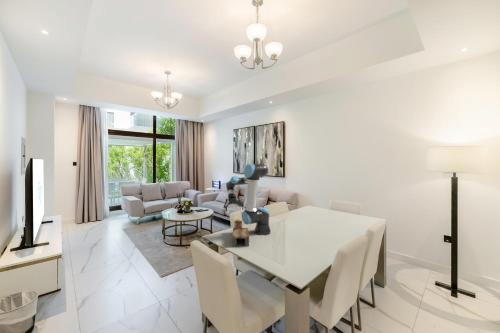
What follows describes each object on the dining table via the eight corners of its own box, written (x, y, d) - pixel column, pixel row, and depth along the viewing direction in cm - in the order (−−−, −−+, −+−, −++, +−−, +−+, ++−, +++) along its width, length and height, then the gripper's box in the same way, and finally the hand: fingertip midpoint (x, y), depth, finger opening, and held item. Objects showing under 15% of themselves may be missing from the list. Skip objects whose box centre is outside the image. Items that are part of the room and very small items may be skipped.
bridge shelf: (247, 236, 192) (247, 227, 192) (248, 246, 173) (249, 236, 172) (232, 236, 192) (233, 227, 191) (232, 246, 172) (232, 236, 171)
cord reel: (241, 232, 204) (241, 219, 204) (241, 234, 197) (242, 221, 197) (234, 232, 204) (234, 219, 203) (234, 234, 197) (234, 221, 196)
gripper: (242, 196, 230) (246, 214, 217) (219, 197, 222) (221, 216, 209) (244, 192, 225) (248, 210, 211) (220, 193, 217) (222, 212, 203)
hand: (235, 213), depth 210 cm, fingers open, 13 cm apart
